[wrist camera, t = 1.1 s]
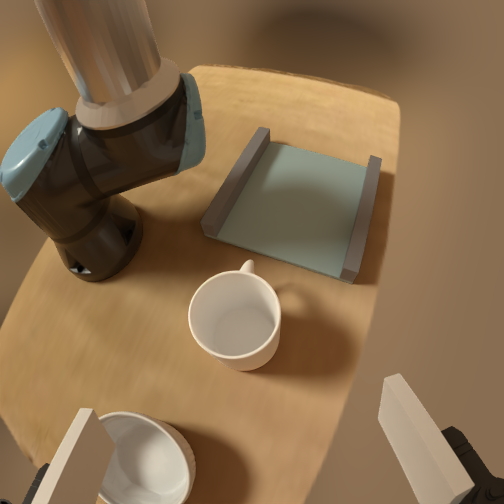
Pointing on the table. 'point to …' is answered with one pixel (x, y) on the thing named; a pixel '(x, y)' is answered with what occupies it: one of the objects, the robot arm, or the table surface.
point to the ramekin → (146, 461)
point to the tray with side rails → (296, 207)
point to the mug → (237, 318)
